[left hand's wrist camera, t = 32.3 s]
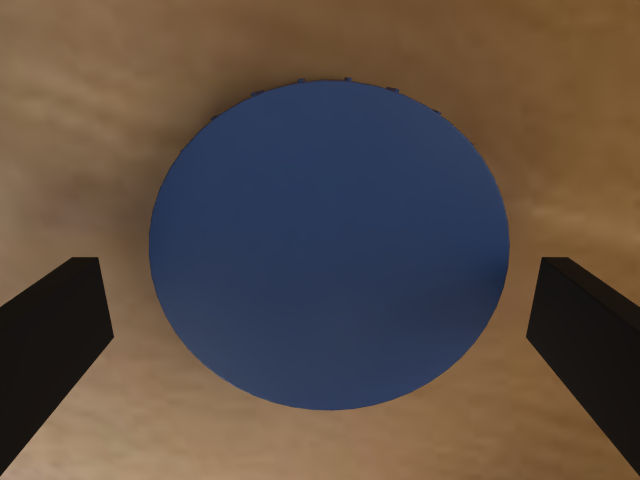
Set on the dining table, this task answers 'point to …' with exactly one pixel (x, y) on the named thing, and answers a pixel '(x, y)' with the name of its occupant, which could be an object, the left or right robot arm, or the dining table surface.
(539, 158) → the dining table surface
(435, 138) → the lid
